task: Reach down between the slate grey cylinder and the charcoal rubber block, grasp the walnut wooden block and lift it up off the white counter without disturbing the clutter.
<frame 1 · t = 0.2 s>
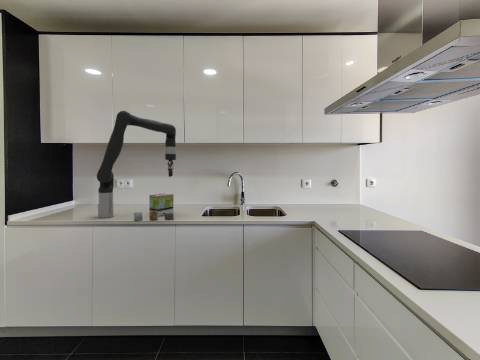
hand: (170, 176, 214), 28 cm above the countertop, tool pointing down, fingers open, 8 cm apart
walnut block: (153, 220, 201), on the countertop
slate cylinder: (138, 220, 200), on the countertop
tea box: (161, 214, 222), on the countertop
charcoal block: (169, 219, 204), on the countertop
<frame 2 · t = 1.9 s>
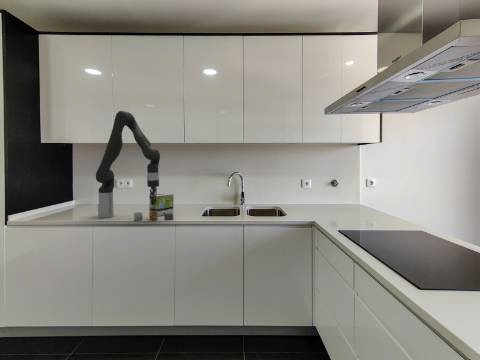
hand: (153, 203, 201), 11 cm above the countertop, tool pointing down, fingers open, 8 cm apart
nothing on the countertop moved.
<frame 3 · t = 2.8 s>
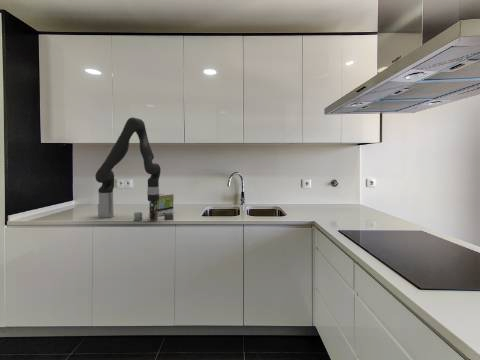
hand: (153, 217, 201), 2 cm above the countertop, tool pointing down, fingers open, 8 cm apart
nothing on the countertop moved.
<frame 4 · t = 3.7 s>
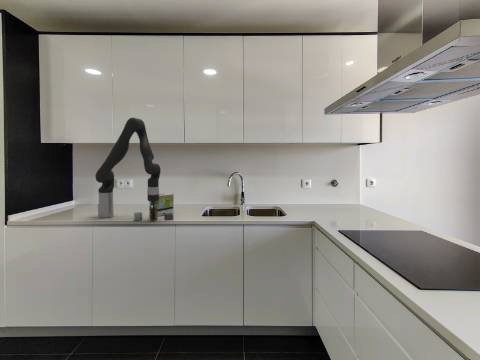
hand: (153, 218, 201), 1 cm above the countertop, tool pointing down, fingers closed on walnut block, 4 cm apart
walnut block: (153, 219, 201), on the countertop, touching gripper
everything else where it was.
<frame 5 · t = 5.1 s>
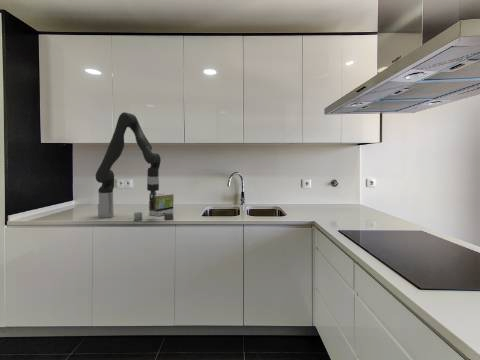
hand: (153, 208, 201), 8 cm above the countertop, tool pointing down, fingers closed on walnut block, 4 cm apart
walnut block: (153, 209, 201), point 7 cm above the countertop, touching gripper
everything else where it was.
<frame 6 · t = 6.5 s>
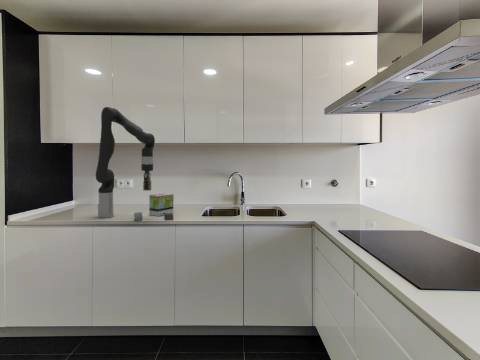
hand: (147, 188, 201), 21 cm above the countertop, tool pointing down, fingers closed on walnut block, 4 cm apart
walnut block: (147, 190, 201), point 20 cm above the countertop, touching gripper
everything else where it was.
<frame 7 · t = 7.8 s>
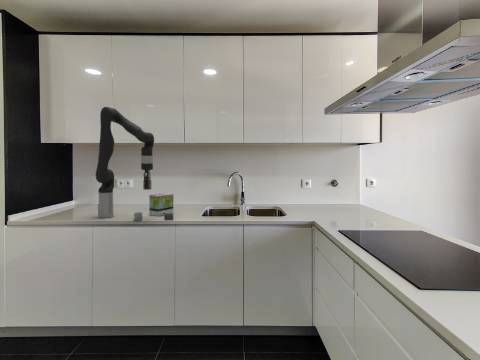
hand: (147, 188, 201), 21 cm above the countertop, tool pointing down, fingers closed on walnut block, 4 cm apart
walnut block: (147, 189, 201), point 20 cm above the countertop, touching gripper
everything else where it was.
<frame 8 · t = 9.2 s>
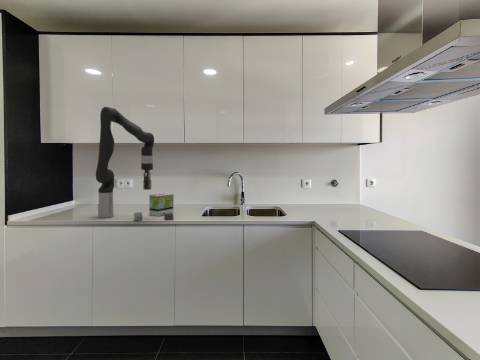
hand: (147, 188, 201), 21 cm above the countertop, tool pointing down, fingers closed on walnut block, 4 cm apart
walnut block: (147, 189, 201), point 20 cm above the countertop, touching gripper
everything else where it was.
at the end: walnut block point 20.5 cm above the countertop; the gripper is holding walnut block; slate cylinder moved 0.1 cm from its start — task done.
